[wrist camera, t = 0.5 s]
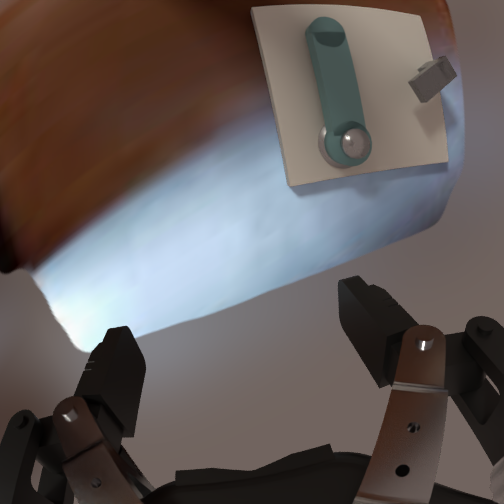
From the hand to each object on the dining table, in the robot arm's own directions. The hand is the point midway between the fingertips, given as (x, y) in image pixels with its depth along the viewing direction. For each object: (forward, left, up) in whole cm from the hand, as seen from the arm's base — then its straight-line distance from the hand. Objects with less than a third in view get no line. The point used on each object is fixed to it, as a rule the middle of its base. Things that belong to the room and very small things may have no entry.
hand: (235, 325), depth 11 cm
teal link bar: (-10, +15, -23) cm, 29 cm away
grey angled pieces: (-8, +22, -23) cm, 33 cm away
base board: (-11, +20, -25) cm, 34 cm away
